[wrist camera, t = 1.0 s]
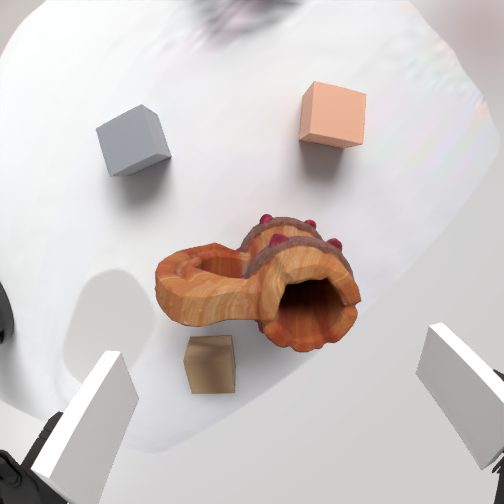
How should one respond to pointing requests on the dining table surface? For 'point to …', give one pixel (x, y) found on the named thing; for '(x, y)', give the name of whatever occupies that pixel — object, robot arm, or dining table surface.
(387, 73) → the dining table surface
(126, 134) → the slate block
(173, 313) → the mug
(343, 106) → the terracotta block
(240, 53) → the dining table surface
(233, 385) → the walnut block
